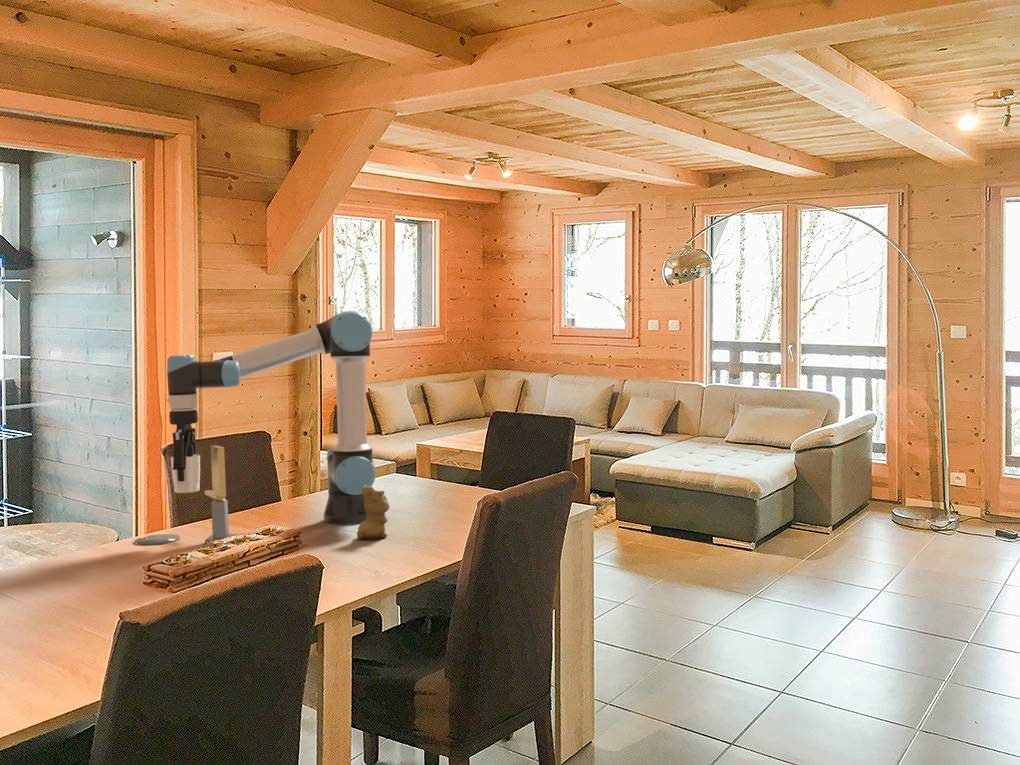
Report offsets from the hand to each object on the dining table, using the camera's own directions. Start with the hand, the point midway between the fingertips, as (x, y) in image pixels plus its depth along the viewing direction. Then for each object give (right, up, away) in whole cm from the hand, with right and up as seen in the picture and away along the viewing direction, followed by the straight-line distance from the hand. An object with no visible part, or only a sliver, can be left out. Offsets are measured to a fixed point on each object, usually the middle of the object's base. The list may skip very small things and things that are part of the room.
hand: (186, 490), depth 259 cm
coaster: (-10, -15, +4) cm, 18 cm away
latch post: (+9, -15, +1) cm, 17 cm away
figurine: (+53, -14, 0) cm, 55 cm away
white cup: (0, -1, 0) cm, 1 cm away
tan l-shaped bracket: (+7, -3, +4) cm, 8 cm away
